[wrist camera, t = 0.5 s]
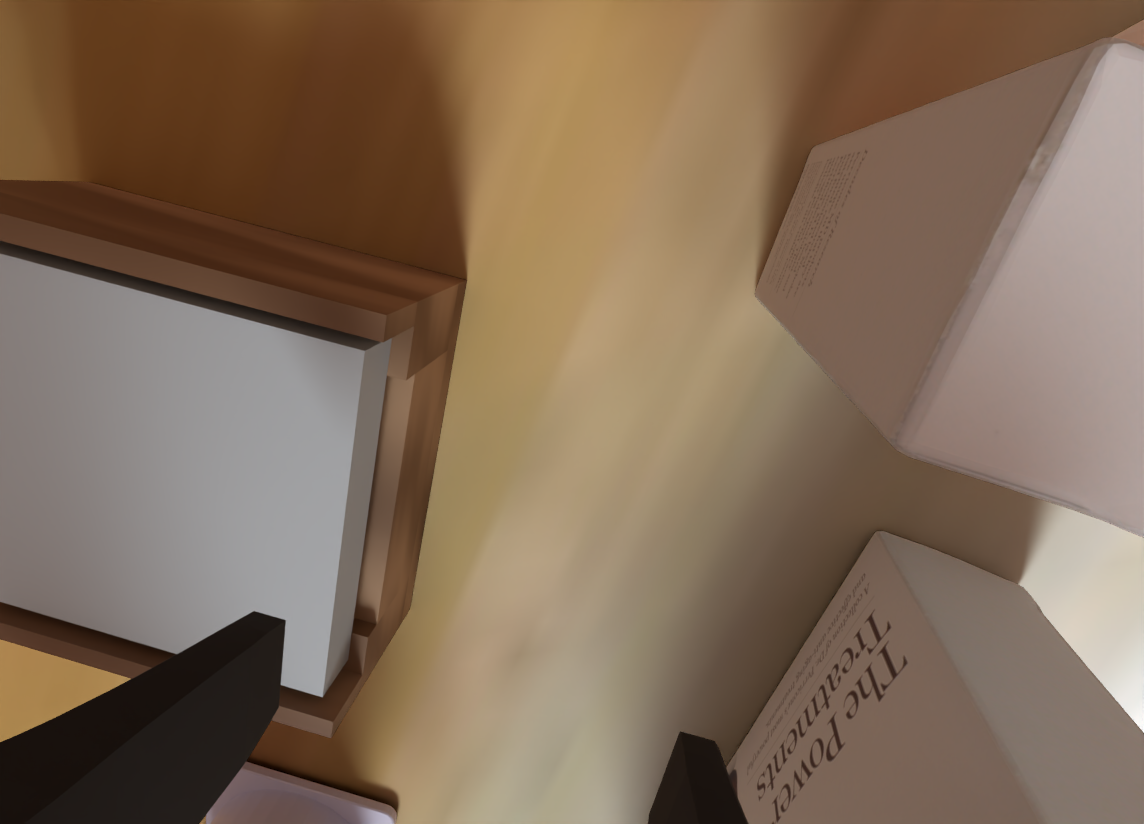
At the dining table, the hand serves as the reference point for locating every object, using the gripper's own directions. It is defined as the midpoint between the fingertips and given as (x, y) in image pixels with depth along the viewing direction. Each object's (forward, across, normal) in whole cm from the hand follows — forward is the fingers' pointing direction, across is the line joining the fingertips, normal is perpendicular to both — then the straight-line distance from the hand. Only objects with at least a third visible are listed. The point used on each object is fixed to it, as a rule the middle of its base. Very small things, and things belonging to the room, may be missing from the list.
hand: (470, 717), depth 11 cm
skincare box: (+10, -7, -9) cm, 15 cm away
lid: (+6, +10, 0) cm, 11 cm away
